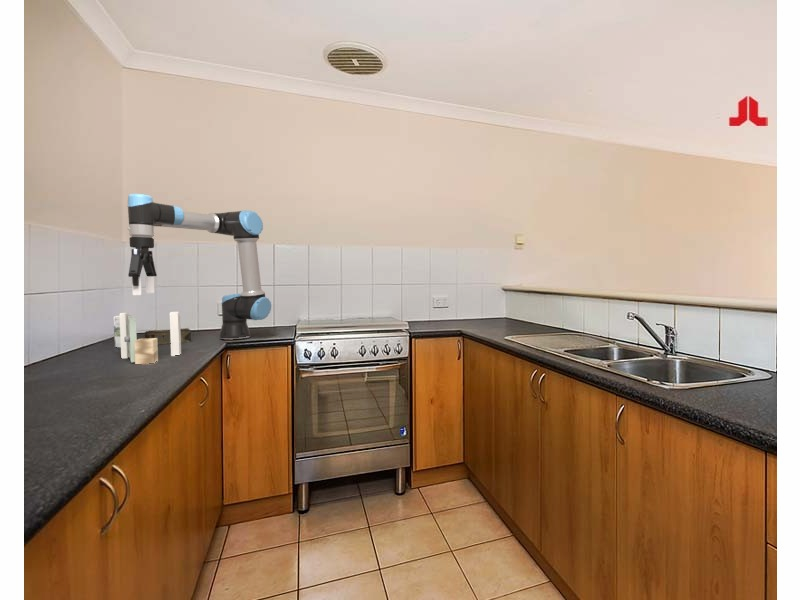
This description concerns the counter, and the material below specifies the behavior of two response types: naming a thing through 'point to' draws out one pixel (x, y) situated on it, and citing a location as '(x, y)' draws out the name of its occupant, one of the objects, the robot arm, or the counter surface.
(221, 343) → the counter surface
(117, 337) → the syrup box
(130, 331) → the door
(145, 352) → the tan rectangular block
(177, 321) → the white piece
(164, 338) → the beverage carton
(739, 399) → the counter surface
